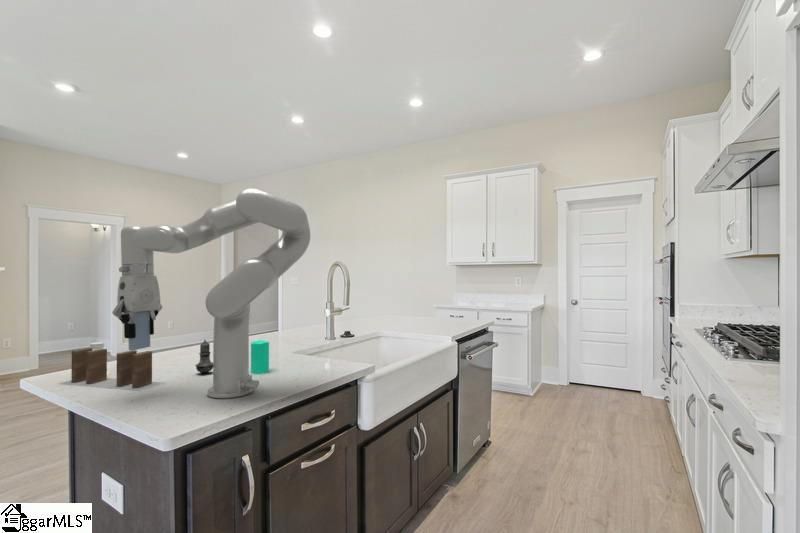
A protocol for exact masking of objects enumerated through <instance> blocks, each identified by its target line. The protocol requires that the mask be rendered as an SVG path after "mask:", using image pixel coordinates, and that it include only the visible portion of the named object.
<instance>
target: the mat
mask: <svg viewBox="0 0 800 533" xmlns="http://www.w3.org/2000/svg"><path fill="white" fill-rule="evenodd" d="M57 384H58V385H67V386H76V387H77V386H78V387H79V386H80V387H90V388H97V389H98V388H99V389H100V388H101V389H102V388H103V389H111V390H123V391H132V392H133V391H136V392H142V391H144V390H147V389H151V388H154V387H157V386H160V385H163V384H164V382H161V381H152V384H149V385H146V386H143V387H140V388H132V384H130V385H126V386H123V387H116V384H117V378H111V377H107V380H105V381H101V382H97V383H94V384H86V381H82V382H78V383H71V380H70V379H69V380H67V381H64V382H59V383H57Z"/></svg>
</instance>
